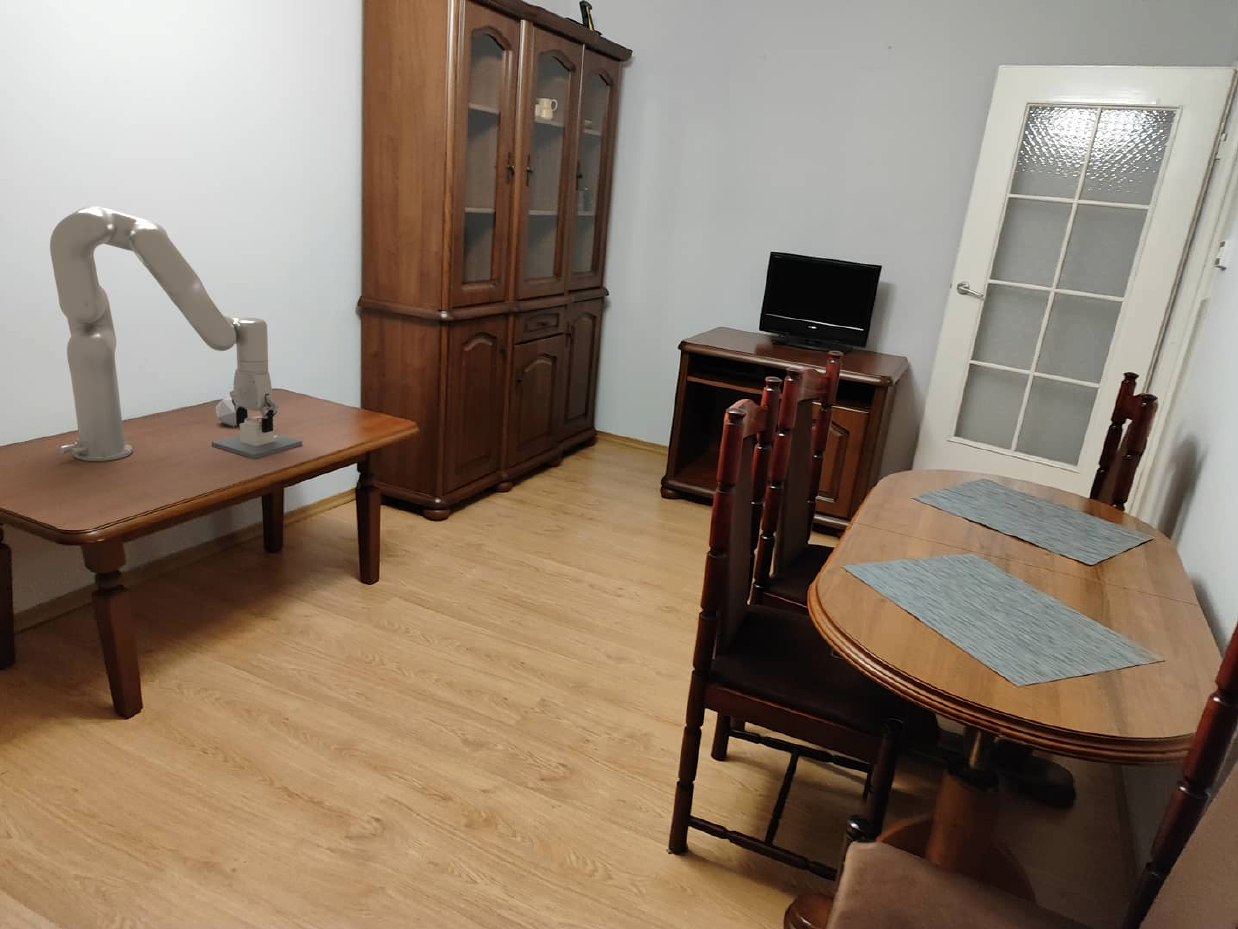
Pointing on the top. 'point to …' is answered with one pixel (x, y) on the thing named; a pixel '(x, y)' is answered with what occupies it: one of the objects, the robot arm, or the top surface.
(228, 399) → the die
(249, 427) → the white stepped block
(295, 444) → the grey square peg base
